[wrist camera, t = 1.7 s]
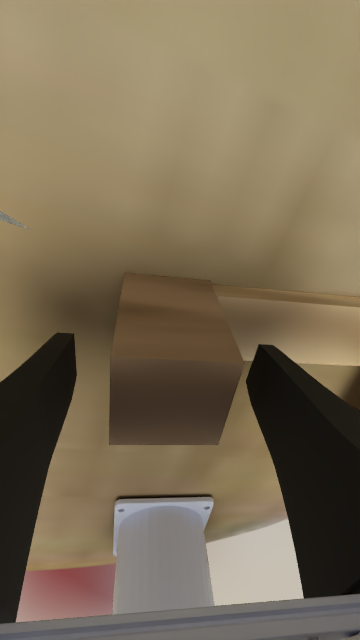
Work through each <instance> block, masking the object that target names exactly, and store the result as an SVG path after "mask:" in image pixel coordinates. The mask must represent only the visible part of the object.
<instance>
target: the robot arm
mask: <svg viewBox="0 0 360 640" xmlns="http://www.w3.org/2000/svg"><path fill="white" fill-rule="evenodd" d="M76 376H77V371H76V356H75V340H74V334H70V333H56V334H55V335H53V336H52V337H51V338H50V339H49V340H48V341H47V342H46V343H45V344H44V345H43V346H42V347H41V348H40V349H39V350H38V351H37V352H35V353H34V354H33V355H32V356H31V357H30V358H29V359H28V360H27V361H25V362H24V363H23V364H22V365H21V366H20V367H19V368H18V369H16V370H15V371H14V372H13V373H11V374H10V375H9V376H8V377H6V378H5V379H4V380H3V381H1V382H0V640H360V411H358V410H357V409H355V408H354V407H352V406H351V405H349V404H348V403H346V402H345V401H343V400H342V399H340V398H339V397H338V396H336V395H335V394H334V393H332V392H331V391H330V390H328V389H327V388H326V387H324V386H323V385H322V384H320V383H319V382H318V381H317V380H315V379H314V378H313V377H312V376H311V375H309V374H308V373H307V372H306V371H304V370H303V369H302V368H301V367H300V366H298V365H297V364H296V363H295V362H294V361H293V360H291V359H290V358H289V357H288V356H287V355H285V354H284V353H283V352H282V351H280V350H279V349H278V348H277V347H275V346H274V345H267V344H259V345H258V348H257V350H256V353H255V356H254V359H253V362H252V365H251V368H250V371H249V374H248V377H247V379H246V384H247V389H248V393H249V397H250V401H251V405H252V407H253V410H254V413H255V415H256V418H257V421H258V423H259V426H260V428H261V431H262V434H263V436H264V439H265V441H266V444H267V446H268V449H269V452H270V454H271V457H272V460H273V463H274V466H275V469H276V473H277V477H278V480H279V484H280V488H281V491H282V495H283V499H284V503H285V507H286V511H287V515H288V520H289V524H290V529H291V533H292V538H293V542H294V547H295V551H296V557H297V562H298V568H299V573H300V578H301V584H302V590H303V596H304V599H293V600H282V601H269V602H258V603H245V604H233V605H221V606H214V599H213V592H212V585H211V578H210V571H209V564H208V557H207V550H206V543H205V535H204V529H205V527H206V524H207V521H208V519H209V516H210V513H211V511H212V508H213V505H214V501H213V498H211V497H185V498H146V499H119V500H117V501H116V502H115V514H114V540H113V555H114V556H117V559H116V573H115V586H114V600H113V614H112V615H102V616H89V617H77V618H65V619H53V620H41V621H30V622H17V623H15V622H16V617H17V611H18V606H19V601H20V596H21V591H22V585H23V581H24V575H25V571H26V565H27V561H28V556H29V551H30V547H31V542H32V537H33V533H34V528H35V523H36V519H37V515H38V510H39V506H40V501H41V497H42V493H43V489H44V485H45V480H46V476H47V472H48V468H49V465H50V461H51V458H52V455H53V452H54V449H55V446H56V443H57V440H58V438H59V435H60V432H61V429H62V426H63V423H64V420H65V418H66V415H67V412H68V409H69V406H70V403H71V400H72V396H73V391H74V386H75V381H76Z"/></svg>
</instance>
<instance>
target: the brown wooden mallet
mask: <svg viewBox="0 0 360 640" xmlns="http://www.w3.org/2000/svg"><path fill="white" fill-rule="evenodd" d="M259 344H267V345H274V346H275V347H277V348H278V349H279V350H280V351H282V352H283V353H284V354H285V355H287V356H288V357H289V358H290V359H291V360H293V361H294V362H295V363H306V364H328V365H349V366H360V297H352V296H341V295H329V294H318V293H306V292H294V291H283V290H271V289H260V288H248V287H236V286H225V285H213V284H211V282H210V280H200V279H189V278H178V277H166V276H155V275H143V274H132V273H124V279H123V285H122V291H121V297H120V303H119V309H118V315H117V321H116V327H115V333H114V339H113V345H112V351H111V357H110V419H109V445H218V444H219V441H220V438H221V434H222V431H223V428H224V425H225V422H226V419H227V416H228V413H229V410H230V407H231V404H232V401H233V397H234V394H235V391H236V388H237V385H238V382H239V379H240V376H241V373H242V370H243V367H244V361H253V359H254V356H255V353H256V350H257V348H258V345H259Z"/></svg>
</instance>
